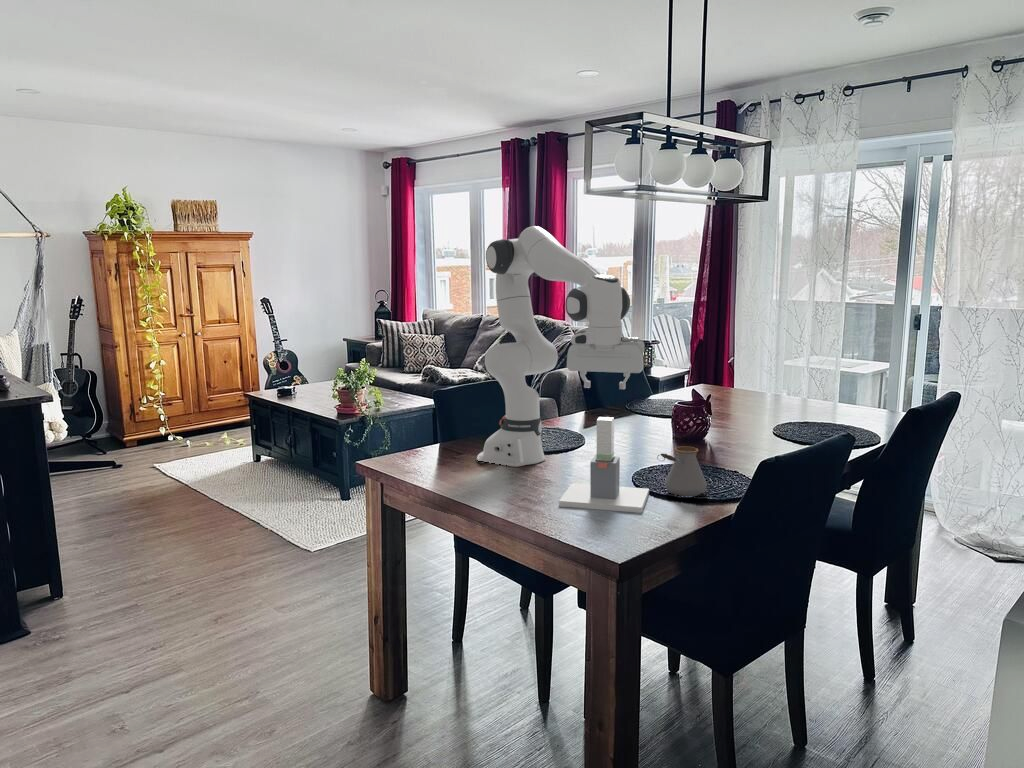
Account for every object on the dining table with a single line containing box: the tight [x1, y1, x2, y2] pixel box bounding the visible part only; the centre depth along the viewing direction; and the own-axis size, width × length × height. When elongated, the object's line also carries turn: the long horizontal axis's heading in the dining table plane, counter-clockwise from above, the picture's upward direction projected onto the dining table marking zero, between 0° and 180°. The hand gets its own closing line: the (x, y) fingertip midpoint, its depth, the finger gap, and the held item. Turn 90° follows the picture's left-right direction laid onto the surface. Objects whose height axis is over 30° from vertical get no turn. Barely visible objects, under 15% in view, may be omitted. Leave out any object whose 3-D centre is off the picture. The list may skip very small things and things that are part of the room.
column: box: [595, 416, 615, 462], centre depth 198 cm, size 4×4×16 cm
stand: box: [558, 454, 650, 514], centre depth 200 cm, size 22×16×12 cm
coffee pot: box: [656, 445, 708, 496], centre depth 200 cm, size 21×12×15 cm, turn 142°
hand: (604, 388), depth 196 cm, fingers open, 8 cm apart
